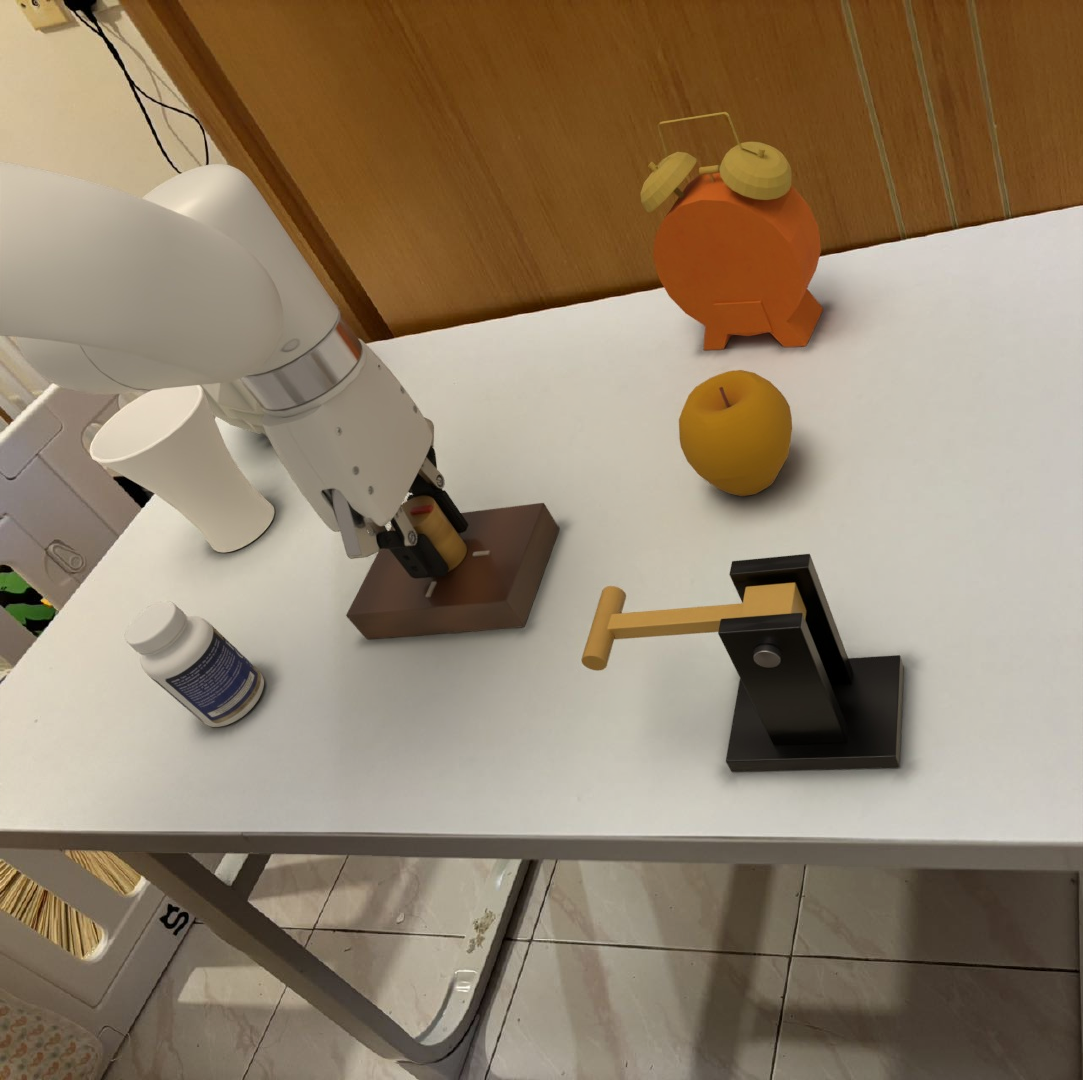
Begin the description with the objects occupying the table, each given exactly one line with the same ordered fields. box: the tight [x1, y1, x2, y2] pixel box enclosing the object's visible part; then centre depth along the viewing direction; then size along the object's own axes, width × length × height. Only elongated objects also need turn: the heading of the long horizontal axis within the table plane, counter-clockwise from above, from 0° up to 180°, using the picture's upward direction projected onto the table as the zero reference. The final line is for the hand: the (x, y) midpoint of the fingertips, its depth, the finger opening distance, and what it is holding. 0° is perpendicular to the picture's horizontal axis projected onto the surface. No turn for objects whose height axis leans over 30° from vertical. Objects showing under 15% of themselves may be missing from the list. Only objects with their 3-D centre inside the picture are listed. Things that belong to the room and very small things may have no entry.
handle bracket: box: [717, 553, 905, 773], centre depth 57 cm, size 10×7×12 cm
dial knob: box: [390, 496, 467, 572], centre depth 76 cm, size 4×4×5 cm
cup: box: [89, 385, 276, 553], centre depth 91 cm, size 10×10×14 cm
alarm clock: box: [639, 111, 824, 351], centre depth 85 cm, size 13×6×20 cm, turn 69°
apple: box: [678, 369, 793, 497], centre depth 75 cm, size 8×8×9 cm
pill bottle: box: [124, 600, 265, 728], centre depth 75 cm, size 5×5×10 cm
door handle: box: [581, 583, 806, 672], centre depth 56 cm, size 12×5×2 cm, turn 81°
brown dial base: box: [345, 502, 560, 640], centre depth 79 cm, size 14×10×3 cm
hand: (440, 550), depth 77 cm, fingers closed on dial knob, 3 cm apart
